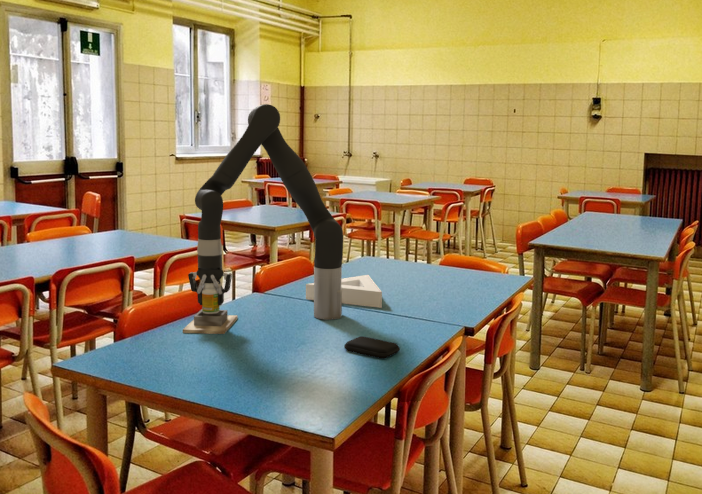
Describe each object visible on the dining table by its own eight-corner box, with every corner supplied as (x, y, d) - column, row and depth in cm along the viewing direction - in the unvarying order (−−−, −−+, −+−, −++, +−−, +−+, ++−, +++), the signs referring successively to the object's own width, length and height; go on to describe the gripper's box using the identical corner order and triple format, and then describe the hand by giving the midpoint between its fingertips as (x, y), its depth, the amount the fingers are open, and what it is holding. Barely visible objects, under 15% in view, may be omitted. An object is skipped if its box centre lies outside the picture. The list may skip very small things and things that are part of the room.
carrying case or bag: (404, 352, 199) (361, 342, 207) (404, 341, 198) (362, 333, 207) (384, 361, 190) (341, 351, 199) (385, 351, 190) (341, 341, 198)
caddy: (237, 318, 230) (237, 306, 230) (224, 334, 213) (224, 321, 212) (199, 317, 231) (198, 305, 231) (182, 332, 213) (182, 320, 213)
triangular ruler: (305, 300, 258) (305, 284, 257) (333, 286, 282) (333, 271, 281) (381, 309, 247) (381, 292, 246) (403, 294, 271) (404, 278, 270)
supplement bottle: (215, 314, 218) (215, 284, 217) (199, 313, 219) (198, 283, 218) (222, 310, 223) (221, 281, 222) (206, 309, 224) (205, 280, 223)
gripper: (235, 251, 221) (235, 302, 224) (190, 250, 222) (192, 301, 225) (229, 255, 214) (230, 308, 217) (183, 254, 215) (185, 307, 218)
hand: (210, 304), depth 221 cm, fingers closed on supplement bottle, 5 cm apart
